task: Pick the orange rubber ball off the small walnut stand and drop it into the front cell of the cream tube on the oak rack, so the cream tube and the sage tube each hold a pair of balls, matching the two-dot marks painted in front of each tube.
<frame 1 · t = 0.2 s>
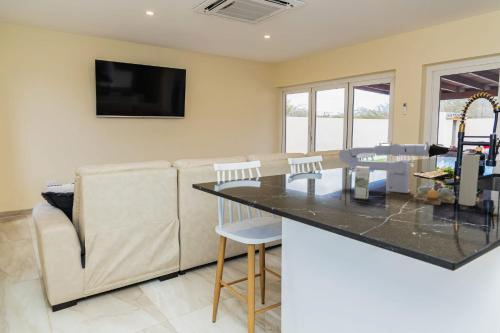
hand: (447, 150, 160), 21 cm above the table, tool horizontal, fingers open, 7 cm apart
stand: (432, 202, 148), on the table
syrup box: (361, 198, 157), on the table
ball slate c: (445, 192, 157), point 3 cm above the table, touching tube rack
ball slate a: (425, 190, 161), point 3 cm above the table, touching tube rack
ball orange: (432, 194, 148), point 4 cm above the table, touching stand
paper towel roll: (467, 204, 146), on the table
ball slate b: (444, 193, 153), point 3 cm above the table, touching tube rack
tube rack: (434, 198, 157), on the table
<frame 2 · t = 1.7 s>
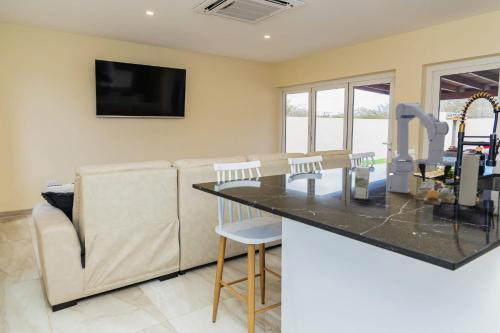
hand: (433, 182, 147), 9 cm above the table, tool pointing down, fingers open, 7 cm apart
nothing on the table moved.
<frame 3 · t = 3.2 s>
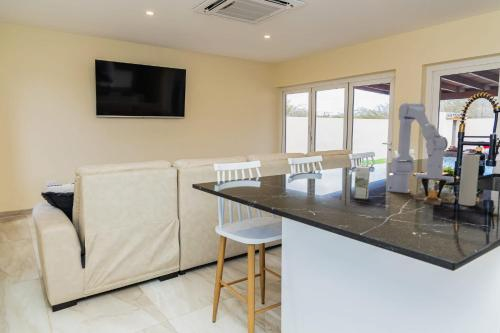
hand: (432, 196, 148), 3 cm above the table, tool pointing down, fingers closed on ball orange, 4 cm apart
ball orange: (432, 194, 148), point 4 cm above the table, touching gripper, stand
everything else where it was.
when the fingers open (5 cm above the table, at t = 5.9 s): ball orange drops 3 cm, resting on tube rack.
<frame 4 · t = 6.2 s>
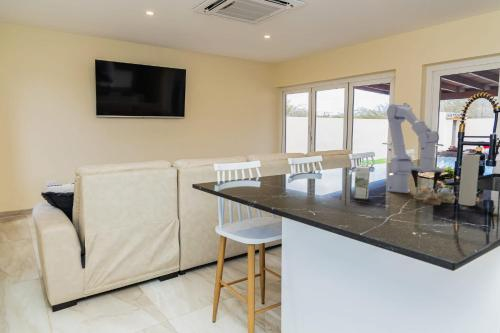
hand: (424, 187, 157), 5 cm above the table, tool pointing down, fingers open, 7 cm apart
ball orange: (424, 191, 157), point 3 cm above the table, touching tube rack
everything else where it was.
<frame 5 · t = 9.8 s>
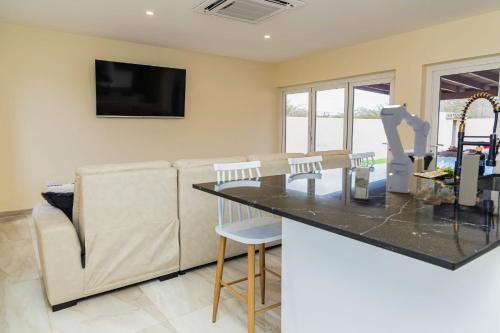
hand: (418, 170, 180), 10 cm above the table, tool pointing down, fingers open, 7 cm apart
nothing on the table moved.
at the end: ball orange 0.1 cm from the target spot on the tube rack, point 3.0 cm above the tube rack's base; ball slate a inside the target area on the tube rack (2.5 cm from its centre), point 3.0 cm above the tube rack's base; the gripper is holding nothing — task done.
